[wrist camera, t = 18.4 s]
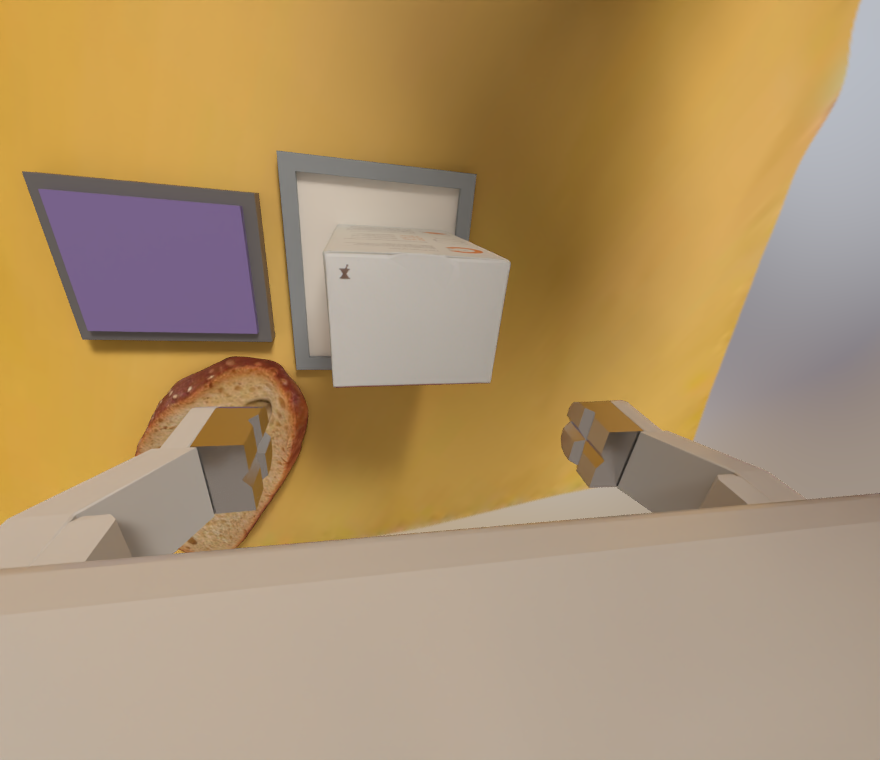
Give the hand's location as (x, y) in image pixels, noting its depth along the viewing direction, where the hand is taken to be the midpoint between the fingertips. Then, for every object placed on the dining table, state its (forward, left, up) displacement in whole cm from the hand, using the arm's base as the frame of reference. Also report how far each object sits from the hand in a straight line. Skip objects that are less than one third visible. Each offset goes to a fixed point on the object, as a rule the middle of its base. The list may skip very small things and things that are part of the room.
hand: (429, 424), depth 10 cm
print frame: (0, 0, -21) cm, 21 cm away
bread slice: (+13, +17, -22) cm, 31 cm away
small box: (-1, 0, -21) cm, 21 cm away
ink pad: (+14, 0, -21) cm, 25 cm away
